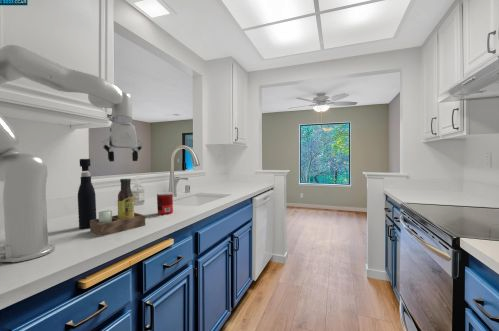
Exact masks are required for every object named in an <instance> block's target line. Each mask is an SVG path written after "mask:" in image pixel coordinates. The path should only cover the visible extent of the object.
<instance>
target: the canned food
mask: <svg viewBox="0 0 499 331" xmlns="http://www.w3.org/2000/svg"><path fill="white" fill-rule="evenodd" d="M173 200H174V198H173V192H172V191H165V192H164V191H163V192H158V193H156V201H157V202H156V204H157V207H156V209H157V214H158V215H160V216H165V215H166V216H167V215H172V214H173V213H174V205H173V204H174V202H173Z"/></svg>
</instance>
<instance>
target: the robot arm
mask: <svg viewBox="0 0 499 331" xmlns="http://www.w3.org/2000/svg"><path fill="white" fill-rule="evenodd" d="M21 78H24V79H26V80H28V81H29V80H30V81H32V82H34V83H38V84H39V85H43V86H45V87H47V88H50V89H53V90H55V91H58V92H62V93H77V94H79V93H80V94H85V95H87V99H88V101H89V103H90V104H91V105H92V106H94V107H97V108H101V109H111V114H112V115H111V117H108V121H109V122H111V124H110V127H109V133H108V136H109V137H107V138H105V139H102V140H100V141H99V142H100V145H101V146H102V148H103V149H104V150H105V151H106V152H107V160H108V161H109V162H115V151H114V150H115V149H131V150H132V152H131V154H132V156H131V159H132V162H138V159H139V152H140V151H141V149H143V148H142V147H143V145H144V142H142V141H140V140H138V138H137V132H136V128H135V125H133V110H132V108H133V106H132V104H133V102H132V96H131V94H129V93H127V92H124V91H122V90H121V89H120V88H119V87H118V86H117V85H115V84H113V83H112V82H110V81H108V80H106V79H104V78H102V77H99V76H97V75H95V74H90V73H87V72H83V71H79V70H75V69H71V68H68V67H66V66H63V65H61V64H59V63H56V62H55V61H54V60H53V61H52V60H50V59H48V58H46V57H44V56H42V55H40V54H38V53H36V52H33V51H32V50H30V49H27V48H25V47H23V46H20V45H17V44H15V45H14V44H9V45H4V46H2V47H1V48H0V84H5V83H8V82H9V83H10V82H13V81H17V80H19V79H21ZM107 142H108V145H109V146H108V145H107ZM19 143H20V135H19V133H17V131H16V129H15V128H14V127H13V126H12V125H11V124H10V123H9V121H8V120H7V119H6V118H5V116H4V115H3V114H2V112H0V182H3V189H2V204H3V205H2V206H3V218H4V219H3V220H4V237H5V241H4V242H3V243H2V245H1V246H0V263H2V262H12V263H18V262H24V261H28V260H33V259H36V258H40V257H43V256H45V255H48V254H50V253H52V252H53V251H54V250H55V248H56V245H55V244H53V243H49V235H48V234H49V232H48V213H47V197H46V196H47V195H46V193H47V190H46V189H47V187H46V186H47V180H48V179H47V178H48V165H47V164H46V161H44V159H43V158H41V157H40V156H38V155H37V154H34V153H31V152H20V151H19V149H18V148H17V146H18V145H19Z"/></svg>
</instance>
